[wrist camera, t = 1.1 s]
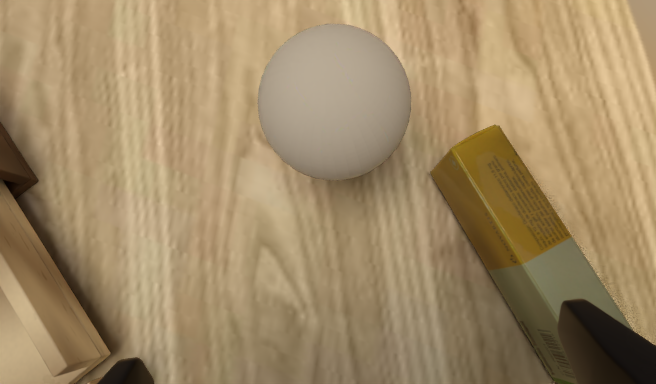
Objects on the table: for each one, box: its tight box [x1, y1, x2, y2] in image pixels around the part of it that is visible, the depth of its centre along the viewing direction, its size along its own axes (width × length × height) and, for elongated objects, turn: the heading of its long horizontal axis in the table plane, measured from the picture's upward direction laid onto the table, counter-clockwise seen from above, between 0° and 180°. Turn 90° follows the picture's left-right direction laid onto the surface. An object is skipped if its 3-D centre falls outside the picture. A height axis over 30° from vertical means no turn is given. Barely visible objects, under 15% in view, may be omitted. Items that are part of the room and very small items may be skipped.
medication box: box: [430, 125, 633, 384], centre depth 20 cm, size 12×3×4 cm, turn 28°
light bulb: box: [258, 24, 411, 180], centre depth 19 cm, size 6×6×10 cm
